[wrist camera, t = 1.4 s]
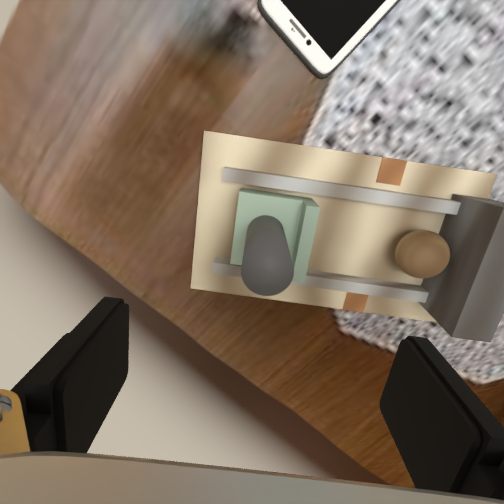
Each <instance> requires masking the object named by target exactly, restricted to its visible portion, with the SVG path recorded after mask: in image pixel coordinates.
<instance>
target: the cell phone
mask: <svg viewBox="0 0 504 504" xmlns="http://www.w3.org/2000/svg"><path fill="white" fill-rule="evenodd" d="M399 1H400V0H258V8H259V11H260V13H261V14H262V16H263V17H264V18H265V20H266V21H267V22H268V23H269V24H270V26H271V27H272V28H273V29H274V30H275V31H276V32H277V34H278V35H279V36H280V37H281V38H282V39H283V40H284V42H285V43H286V44H287V45H288V46H289V47H290V48H291V50H292V51H293V52H294V53H295V54H296V55H297V56H298V58H299V59H300V60H301V61H302V62H303V63H304V64H305V66H306V67H307V68H308V69H309V70H310V71H311V72H312V73H313V74H314V75H315V76H316V77H318V78H321V79H323V78H326V77H328V76H329V75H330V74H331V73H332V72H334V71H335V69H336V68H337V67H338V66H339V65H340V64H341V63H342V62H343V61H344V60H345V59H346V58H347V57H348V56H349V55H350V54H351V53H352V52H353V50H354V49H355V48H356V47H357V46H358V45H359V44H360V43H361V42H362V41H363V40H364V39H365V38H366V36H367V35H368V34H369V33H370V32H371V31H372V30H373V29H374V28H375V27H376V26H377V25H378V24H379V23H380V22H381V20H382V19H383V18H384V17H385V16H386V15H387V14H388V13H389V12H390V11H391V10H392V9H393V8H394V6H395V5H396V4H397V3H398V2H399Z"/></svg>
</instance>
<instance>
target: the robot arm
mask: <svg viewBox="0 0 504 504" xmlns="http://www.w3.org/2000/svg"><path fill="white" fill-rule="evenodd" d="M128 350H129V305H128V304H125V303H124V300H123V299H120V298H112V297H104V298H103V299H102V300H101V301H100V302H99V303H98V304H97V305H96V306H95V307H94V308H93V309H92V310H91V311H90V312H89V313H88V314H87V316H86V317H85V318H84V319H83V320H82V321H81V322H80V323H79V324H78V325H77V326H76V327H75V328H74V329H73V330H72V331H71V332H70V333H67V334H65V335H64V336H63V337H62V338H61V339H60V340H59V341H58V342H57V343H56V344H55V345H54V346H53V347H52V348H51V349H50V350H49V351H48V352H47V353H46V354H45V355H44V356H43V358H41V360H40V361H39V362H38V363H37V364H36V365H35V366H34V367H33V368H32V369H31V370H30V371H29V372H28V373H27V374H26V375H25V376H24V377H23V378H22V379H21V380H20V381H19V382H18V383H17V384H16V385H15V386H14V388H13V389H11V390H10V391H9V390H4V389H0V504H504V427H503V426H502V425H501V424H500V423H499V422H498V420H497V419H496V418H495V417H494V416H493V415H492V413H491V412H490V411H489V410H488V409H487V408H486V406H485V405H484V404H483V403H482V402H481V401H480V399H479V398H478V397H477V396H476V395H475V393H474V392H473V391H472V390H471V389H470V388H469V386H468V385H467V384H466V383H465V382H464V381H463V379H462V378H461V377H460V376H459V375H458V374H457V372H456V371H455V370H454V369H453V368H452V367H451V365H450V364H449V363H448V362H447V361H446V359H445V358H444V357H443V356H442V355H441V354H440V352H439V351H438V350H437V349H436V348H435V347H434V345H433V344H432V343H431V342H430V341H429V340H428V339H427V338H423V337H415V336H408V337H407V338H406V339H403V340H402V341H401V342H400V345H399V347H398V350H397V353H396V356H395V359H394V362H393V365H392V368H391V370H390V373H389V376H388V379H387V382H386V385H385V388H384V391H383V393H382V396H381V399H380V410H381V413H382V415H383V417H384V419H385V421H386V424H387V426H388V428H389V430H390V432H391V435H392V437H393V439H394V441H395V443H396V445H397V448H398V450H399V452H400V454H401V456H402V459H403V461H404V463H405V465H406V467H407V470H408V472H409V474H410V476H411V478H412V481H413V483H414V485H415V487H416V488H408V487H400V486H391V485H383V484H374V483H366V482H357V481H349V480H340V479H331V478H321V477H313V476H304V475H295V474H286V473H277V472H268V471H259V470H250V469H241V468H231V467H222V466H213V465H203V464H192V463H184V462H175V461H165V460H156V459H146V458H134V457H125V456H114V455H103V454H90V453H87V451H88V449H89V448H90V446H91V444H92V442H93V440H94V438H95V436H96V434H97V433H98V431H99V429H100V427H101V425H102V423H103V421H104V420H105V418H106V415H107V414H108V412H109V410H110V408H111V406H112V405H113V403H114V401H115V399H116V397H117V395H118V393H119V392H120V390H121V388H122V386H123V384H124V382H125V380H126V377H127V374H128Z"/></svg>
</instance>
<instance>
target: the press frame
mask: <svg viewBox="0 0 504 504" xmlns="http://www.w3.org/2000/svg"><path fill="white" fill-rule="evenodd" d="M496 176H497V174H491V173H485V172H478V171H471V170H464V169H458V168H451V167H444V166H437V165H431V164H424V163H417V162H411V161H404V160H397V159H390V158H384V157H377V156H370V155H363V154H357V153H350V152H343V151H337V150H330V149H323V148H316V147H310V146H303V145H296V144H290V143H283V142H276V141H269V140H263V139H256V138H249V137H242V136H236V135H229V134H222V133H216V132H209V131H204V138H203V150H202V161H201V173H200V185H199V197H198V208H197V220H196V232H195V243H194V255H193V267H192V278H191V288H192V289H200V290H207V291H214V292H221V293H228V294H236V295H243V296H250V297H257V298H265V299H272V300H279V301H286V302H293V303H301V304H308V305H315V306H322V307H330V308H337V309H343V310H348V311H355V312H362V313H364V312H366V313H373V314H380V315H387V316H395V317H402V318H409V319H416V320H424V321H431V322H438V323H439V324H440V325H441V326H442V327H443V328H444V329H445V331H446V332H447V333H448V334H449V335H450V336H451V337H456V338H463V339H470V340H477V341H485V342H491V340H492V338H493V335H494V333H495V331H496V329H497V326H498V324H499V322H500V320H501V318H502V315H503V313H504V203H503V202H499V201H495V200H491V199H488V197H489V194H490V191H491V189H492V186H493V184H494V181H495V178H496ZM241 188H246V189H253V190H260V191H267V192H274V193H281V194H287V195H294V196H301V197H308V198H312V199H313V200H314V201H315V202H316V203H317V204H318V205H319V207H320V211H319V216H318V221H317V226H316V230H315V235H314V240H313V244H312V249H311V254H310V258H309V263H308V268H307V273H306V277H305V282H304V283H302V282H295V281H292V282H291V283H290V285H289V286H288V287H287V288H286V289H285V290H284V291H283V292H281V293H279V294H277V295H273V296H262V295H258V294H256V293H254V292H252V291H251V290H249V289H248V288H247V287H246V285H245V284H244V282H243V280H242V277H241V266H242V265H235V264H230V261H231V253H232V245H233V237H234V229H235V221H236V214H237V206H238V198H239V191H240V189H241Z"/></svg>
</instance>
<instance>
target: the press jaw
mask: <svg viewBox="0 0 504 504" xmlns="http://www.w3.org/2000/svg"><path fill="white" fill-rule="evenodd" d="M319 211H320V207H319V205H318V204H317V203H316V202H315V201H314V200H313V199H312V198H308V197H301V196H294V195H287V194H281V193H274V192H267V191H260V190H253V189H246V188H241V189H240V191H239V198H238V206H237V214H236V221H235V229H234V237H233V245H232V253H231V261H230V264H235V265H242V266H241V277H242V280H243V282H244V284H245V285H246V287H247V288H248V289H249V290H251V291H252V292H254V293H256V294H258V295H262V296H273V295H277V294H279V293H281V292H283V291H284V290H285V289H286V288H287V287H288V286H289V285H290V283H291V282H292V281H295V282H302V283H304V282H305V277H306V273H307V268H308V263H309V258H310V254H311V249H312V244H313V240H314V235H315V230H316V226H317V221H318V216H319Z"/></svg>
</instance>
